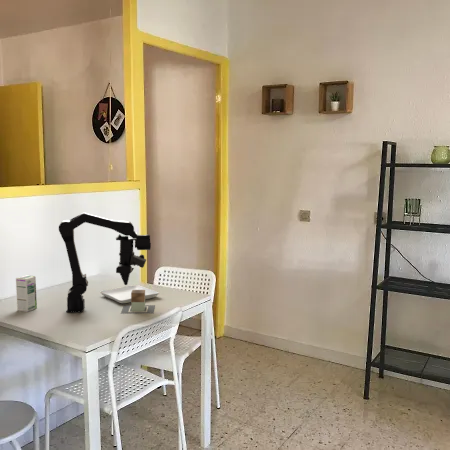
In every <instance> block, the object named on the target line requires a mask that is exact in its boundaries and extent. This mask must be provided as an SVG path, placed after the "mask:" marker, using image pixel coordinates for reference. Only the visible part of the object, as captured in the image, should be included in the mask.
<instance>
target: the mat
mask: <svg viewBox="0 0 450 450" xmlns="http://www.w3.org/2000/svg"><path fill="white" fill-rule="evenodd" d="M155 309H156V305H155V304H152V305H151V304H150V305H147V304H145V310H144V311H131V305H130V304H129V305H128V304H125V305H123V306H122V309H121V311H120V314H123V315H125V314H127V315H128V314H130V315H131V314H134V315H137V314H138V315H139V314H141V315H142V314H145V315H147V314H154V313H155Z"/></svg>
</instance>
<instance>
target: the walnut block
mask: <svg viewBox="0 0 450 450" xmlns="http://www.w3.org/2000/svg"><path fill="white" fill-rule="evenodd" d="M144 301H145V302H146V299H145V290H132V292H131V302H144ZM131 302H130V303H131Z"/></svg>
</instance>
